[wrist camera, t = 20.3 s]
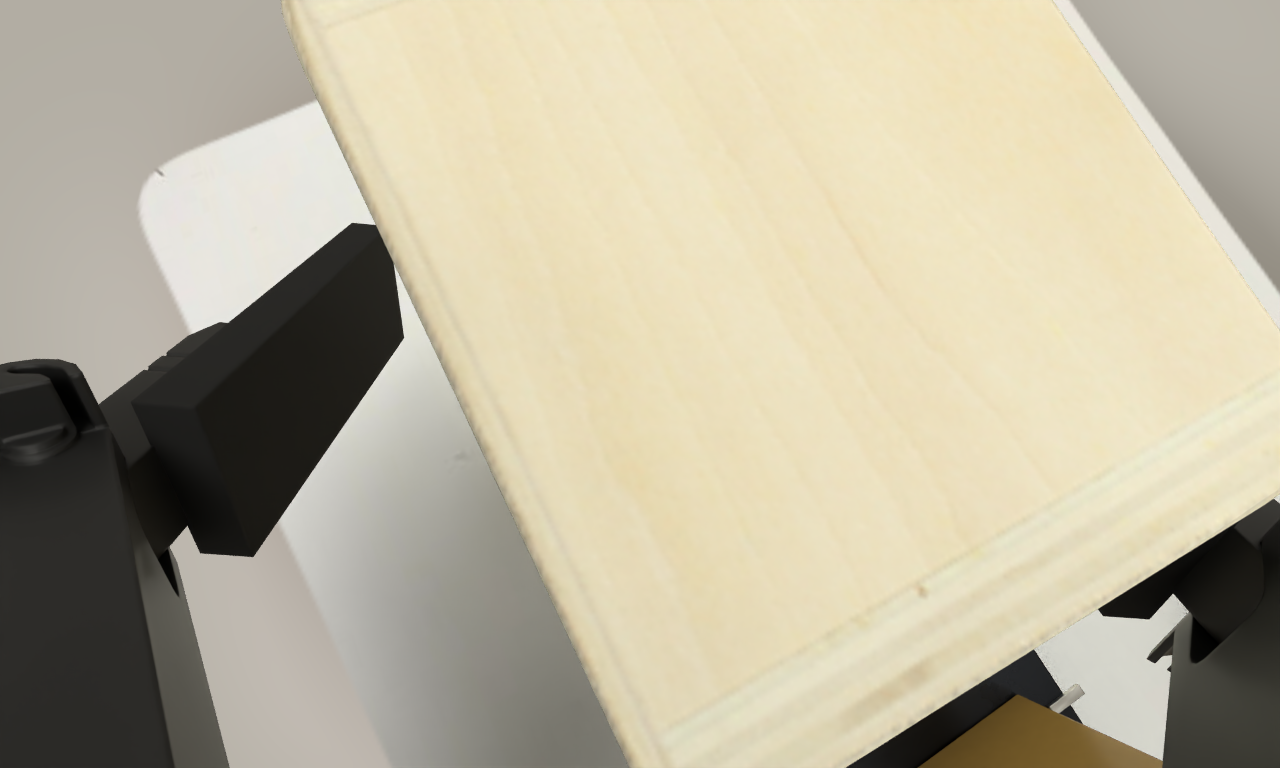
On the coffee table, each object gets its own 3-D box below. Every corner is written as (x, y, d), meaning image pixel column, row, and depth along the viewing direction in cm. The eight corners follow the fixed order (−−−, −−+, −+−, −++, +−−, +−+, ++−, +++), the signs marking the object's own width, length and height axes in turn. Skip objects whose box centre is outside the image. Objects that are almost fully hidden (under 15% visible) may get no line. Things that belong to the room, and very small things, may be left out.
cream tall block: (766, 486, 25) (1447, 410, 5) (611, 568, 24) (652, 906, 4) (680, 323, 27) (939, -284, 6) (528, 395, 26) (226, -47, 5)
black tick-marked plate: (737, 671, 24) (756, 695, 21) (937, 536, 25) (983, 541, 22) (908, 967, 22) (957, 1042, 19) (1112, 804, 24) (1188, 849, 21)
